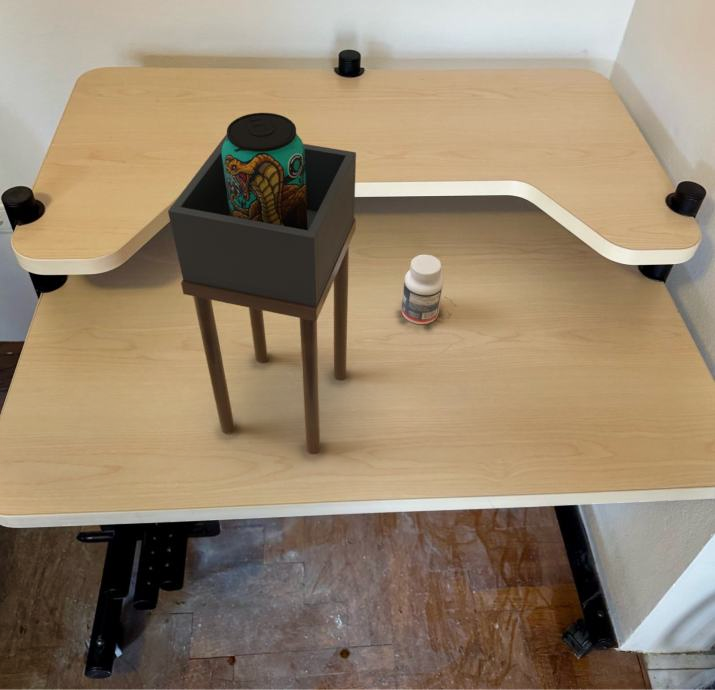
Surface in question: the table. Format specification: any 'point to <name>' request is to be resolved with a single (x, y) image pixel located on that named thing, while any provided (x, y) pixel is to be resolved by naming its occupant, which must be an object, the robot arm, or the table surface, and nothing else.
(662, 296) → the table surface
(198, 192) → the trash bin
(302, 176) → the beverage can
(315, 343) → the stool
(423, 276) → the pill bottle
